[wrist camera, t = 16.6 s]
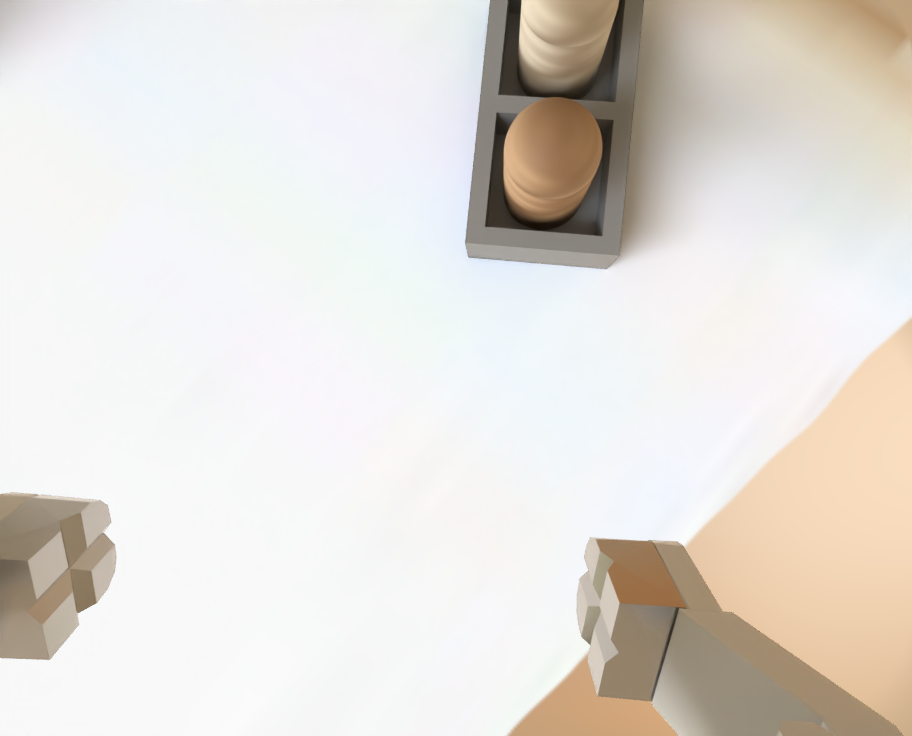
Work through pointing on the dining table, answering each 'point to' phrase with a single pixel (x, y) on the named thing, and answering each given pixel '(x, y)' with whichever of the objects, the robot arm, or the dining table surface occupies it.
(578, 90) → the cream egg
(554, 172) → the brown rounded oval piece
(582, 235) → the egg carton
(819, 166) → the dining table surface
